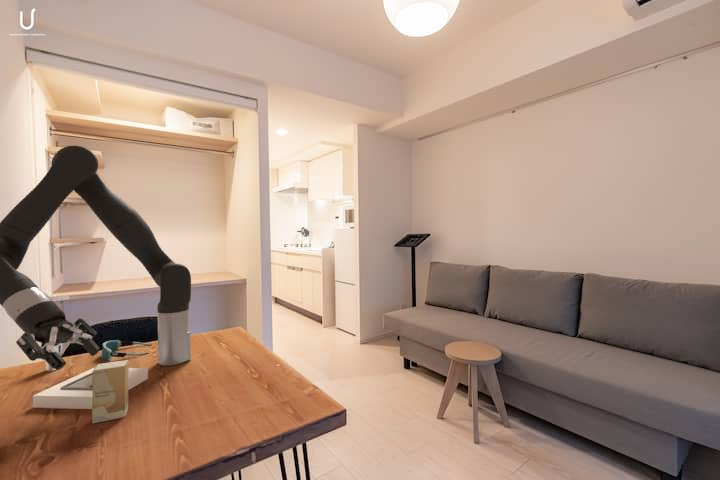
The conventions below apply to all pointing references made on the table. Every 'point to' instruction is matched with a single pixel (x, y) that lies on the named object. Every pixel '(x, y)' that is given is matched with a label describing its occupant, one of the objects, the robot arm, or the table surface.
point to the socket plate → (79, 390)
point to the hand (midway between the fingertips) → (80, 359)
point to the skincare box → (110, 391)
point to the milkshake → (58, 350)
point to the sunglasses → (113, 346)
